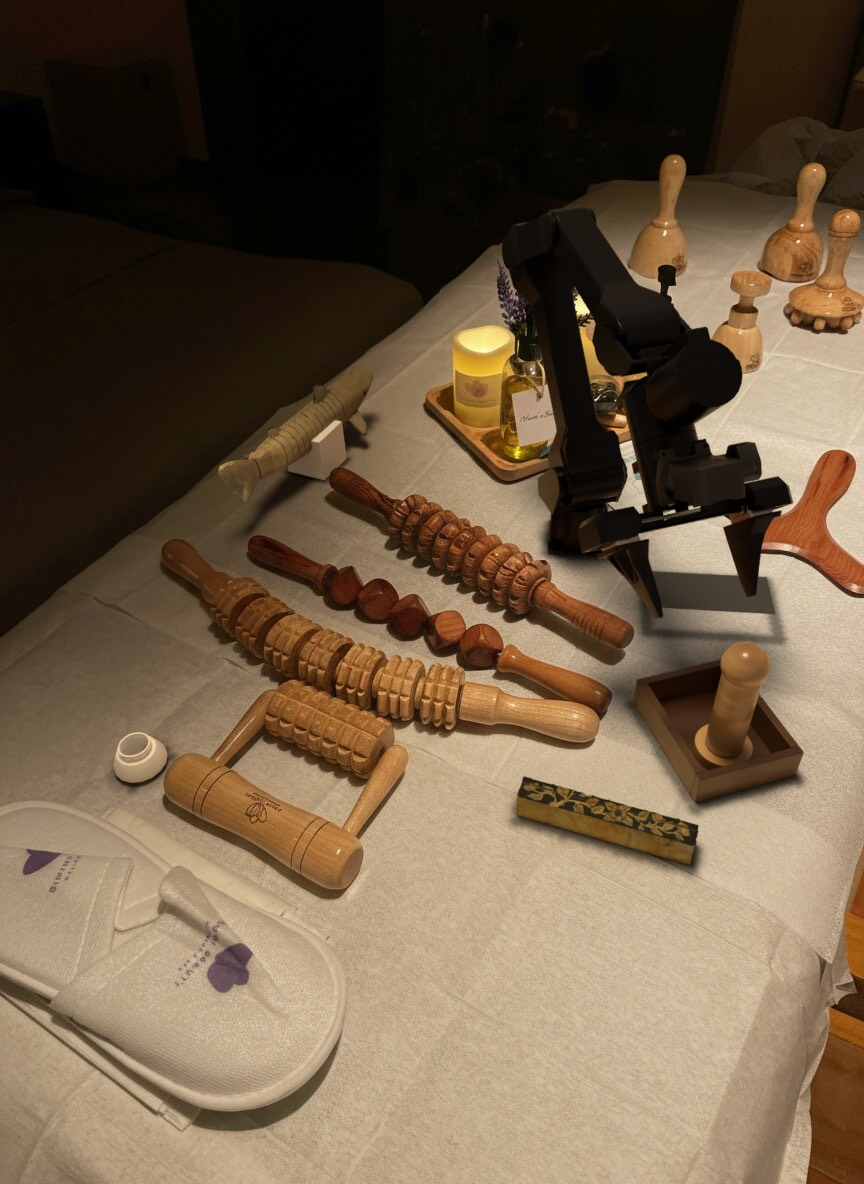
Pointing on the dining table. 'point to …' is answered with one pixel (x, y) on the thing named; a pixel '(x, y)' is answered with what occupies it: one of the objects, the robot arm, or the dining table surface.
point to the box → (686, 707)
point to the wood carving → (305, 437)
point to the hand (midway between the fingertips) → (706, 607)
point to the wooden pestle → (733, 707)
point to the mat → (711, 593)
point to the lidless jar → (139, 758)
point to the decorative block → (607, 820)
